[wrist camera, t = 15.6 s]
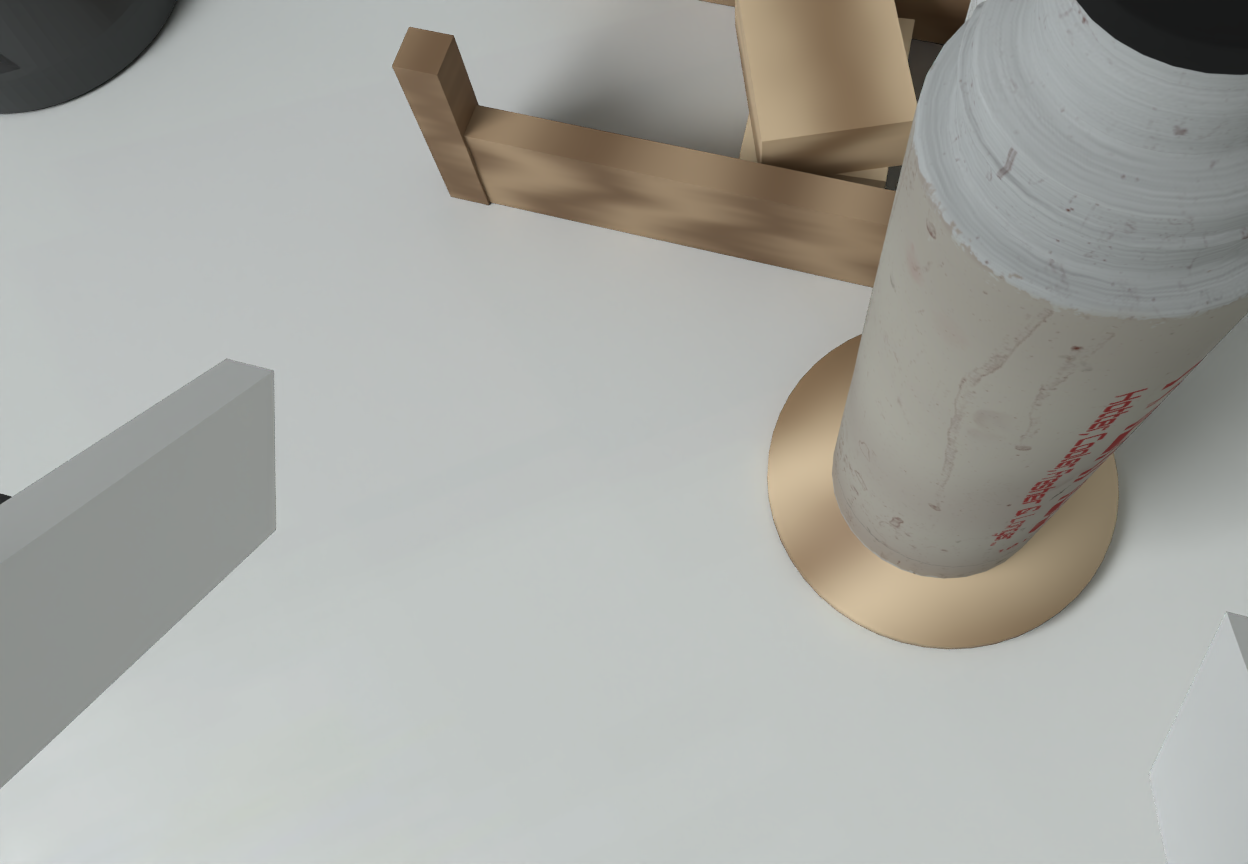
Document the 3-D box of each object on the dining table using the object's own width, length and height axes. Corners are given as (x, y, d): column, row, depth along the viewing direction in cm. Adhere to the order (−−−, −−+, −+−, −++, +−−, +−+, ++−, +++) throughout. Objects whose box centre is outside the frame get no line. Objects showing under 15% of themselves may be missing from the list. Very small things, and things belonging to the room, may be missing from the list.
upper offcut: (760, 184, 46) (761, 141, 43) (735, 24, 48) (734, -26, 46) (909, 164, 45) (920, 119, 43) (875, 4, 48) (883, -47, 45)
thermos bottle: (1091, 506, 42) (1675, -51, 16) (914, 620, 41) (1218, 234, 15) (959, 342, 45) (1269, -366, 18) (790, 447, 44) (863, -138, 18)
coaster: (698, 478, 44) (697, 473, 44) (924, 266, 47) (926, 259, 46) (952, 724, 40) (955, 723, 40) (1187, 480, 42) (1193, 476, 42)
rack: (450, 196, 50) (391, 66, 42) (552, -56, 54) (516, -221, 46) (1102, 342, 45) (1186, 226, 36) (1157, 50, 49) (1244, -114, 40)
